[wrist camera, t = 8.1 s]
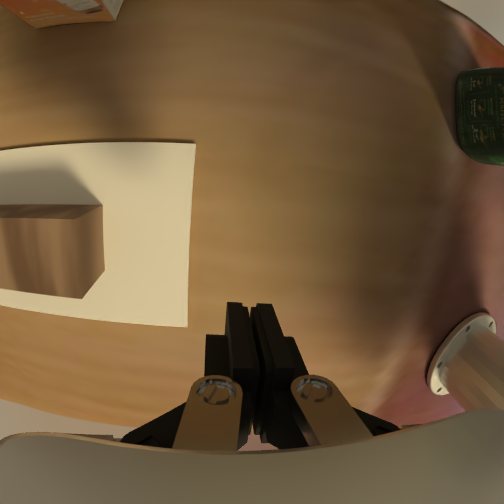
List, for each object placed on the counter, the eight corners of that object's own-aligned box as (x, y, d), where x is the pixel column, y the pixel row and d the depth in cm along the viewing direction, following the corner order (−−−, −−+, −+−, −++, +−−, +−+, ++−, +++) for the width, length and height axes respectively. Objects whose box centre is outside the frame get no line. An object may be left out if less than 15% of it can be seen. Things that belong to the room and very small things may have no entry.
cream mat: (196, 144, 20) (195, 143, 19) (187, 324, 24) (187, 327, 23) (-27, 155, 16) (-30, 155, 16) (-12, 300, 20) (-14, 302, 20)
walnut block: (75, 219, 15) (-49, 217, 13) (81, 299, 16) (-39, 281, 14) (102, 205, 20) (-13, 204, 18) (105, 270, 21) (-7, 260, 19)
